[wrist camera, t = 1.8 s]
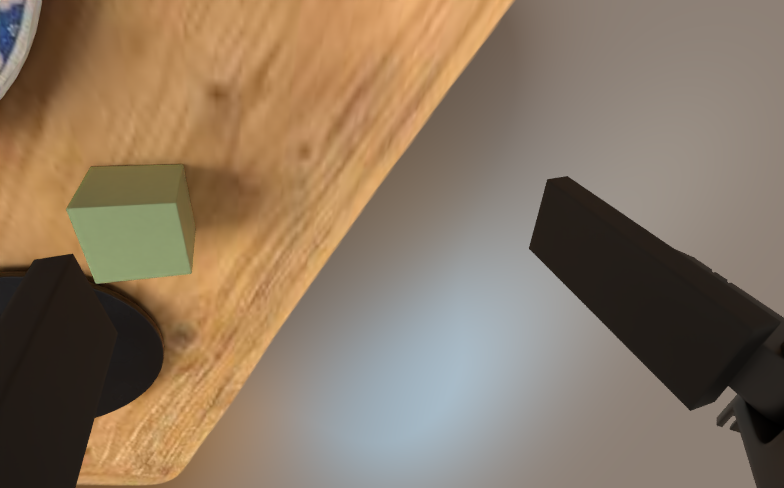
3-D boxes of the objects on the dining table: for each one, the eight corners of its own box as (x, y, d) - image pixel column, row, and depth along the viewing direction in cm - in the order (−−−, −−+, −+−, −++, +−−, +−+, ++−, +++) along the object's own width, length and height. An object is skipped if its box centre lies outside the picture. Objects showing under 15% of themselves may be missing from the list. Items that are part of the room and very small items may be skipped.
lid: (-163, 378, 27) (-286, 519, 20) (-27, 222, 24) (-119, 327, 17) (90, 431, 37) (62, 537, 30) (207, 325, 34) (203, 416, 27)
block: (113, 235, 27) (95, 284, 23) (90, 166, 24) (65, 208, 20) (196, 229, 29) (191, 274, 25) (183, 163, 26) (176, 202, 22)
